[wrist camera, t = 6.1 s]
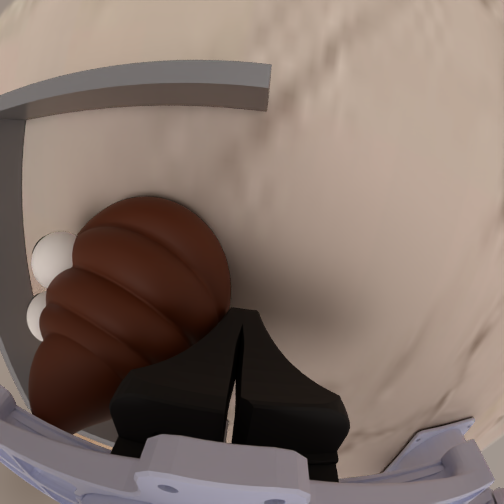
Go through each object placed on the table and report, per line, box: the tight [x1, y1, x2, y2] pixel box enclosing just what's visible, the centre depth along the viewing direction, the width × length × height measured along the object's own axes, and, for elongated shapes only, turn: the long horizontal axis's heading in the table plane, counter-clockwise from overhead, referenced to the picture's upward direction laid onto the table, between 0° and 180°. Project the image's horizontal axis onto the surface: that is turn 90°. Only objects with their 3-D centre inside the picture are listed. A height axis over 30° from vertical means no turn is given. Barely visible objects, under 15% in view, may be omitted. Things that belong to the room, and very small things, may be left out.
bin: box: [0, 60, 272, 447], centre depth 12 cm, size 20×15×4 cm
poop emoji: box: [27, 197, 231, 435], centre depth 9 cm, size 10×8×9 cm
